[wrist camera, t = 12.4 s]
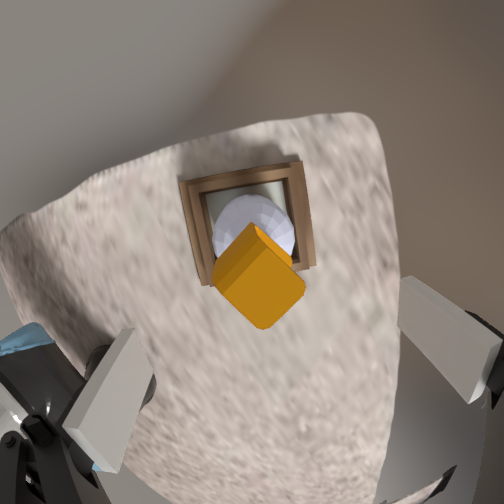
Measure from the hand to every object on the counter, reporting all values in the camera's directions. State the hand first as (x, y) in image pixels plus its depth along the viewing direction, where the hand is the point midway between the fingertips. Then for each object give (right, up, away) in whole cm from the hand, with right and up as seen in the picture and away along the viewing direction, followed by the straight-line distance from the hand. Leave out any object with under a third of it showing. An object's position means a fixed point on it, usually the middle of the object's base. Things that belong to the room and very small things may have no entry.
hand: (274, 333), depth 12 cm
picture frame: (-1, +8, +29) cm, 30 cm away
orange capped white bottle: (-1, +8, +27) cm, 29 cm away
